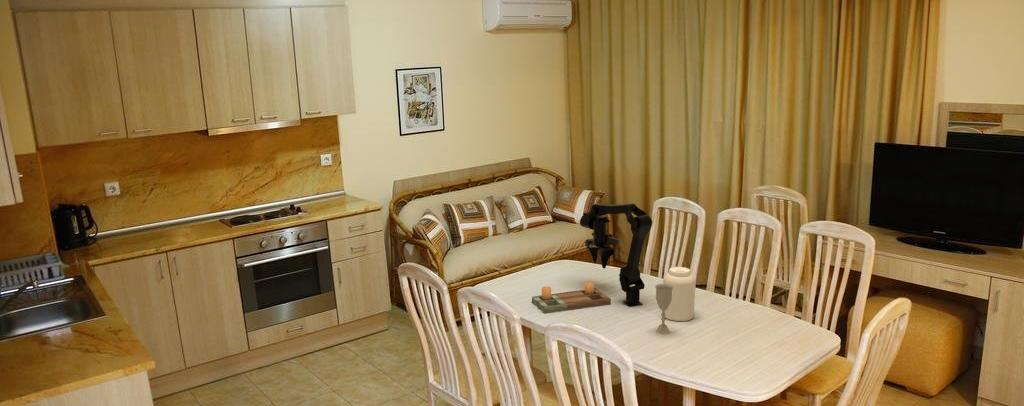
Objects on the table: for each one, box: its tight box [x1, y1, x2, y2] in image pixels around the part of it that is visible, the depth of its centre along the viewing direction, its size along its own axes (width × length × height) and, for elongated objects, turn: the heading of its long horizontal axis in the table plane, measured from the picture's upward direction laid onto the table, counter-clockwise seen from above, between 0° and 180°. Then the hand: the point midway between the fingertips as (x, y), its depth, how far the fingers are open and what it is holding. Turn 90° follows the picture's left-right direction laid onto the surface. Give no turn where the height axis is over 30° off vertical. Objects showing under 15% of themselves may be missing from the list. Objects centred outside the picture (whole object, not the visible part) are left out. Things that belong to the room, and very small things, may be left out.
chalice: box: [654, 283, 673, 335], centre depth 285 cm, size 7×7×18 cm
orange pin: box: [584, 280, 595, 295], centre depth 325 cm, size 4×4×7 cm
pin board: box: [531, 287, 612, 314], centre depth 320 cm, size 15×30×2 cm, turn 109°
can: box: [662, 266, 696, 322], centre depth 301 cm, size 12×12×20 cm
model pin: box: [541, 286, 552, 301], centre depth 319 cm, size 4×4×7 cm
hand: (599, 265), depth 332 cm, fingers open, 9 cm apart
